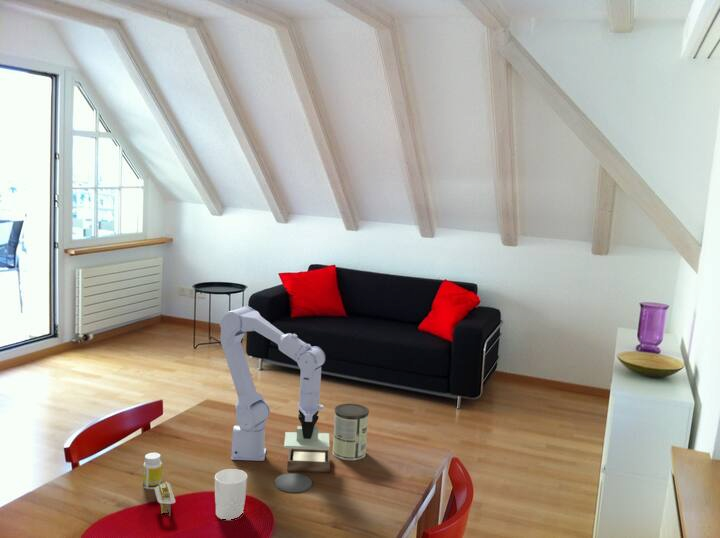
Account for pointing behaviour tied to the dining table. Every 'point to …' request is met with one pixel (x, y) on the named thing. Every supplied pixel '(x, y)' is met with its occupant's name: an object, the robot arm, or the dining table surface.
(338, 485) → the dining table surface
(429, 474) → the dining table surface
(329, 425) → the dining table surface
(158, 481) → the supplement bottle
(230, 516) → the white cup
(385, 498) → the dining table surface
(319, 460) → the box
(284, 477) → the stone
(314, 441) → the lid
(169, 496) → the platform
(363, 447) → the coffee can
